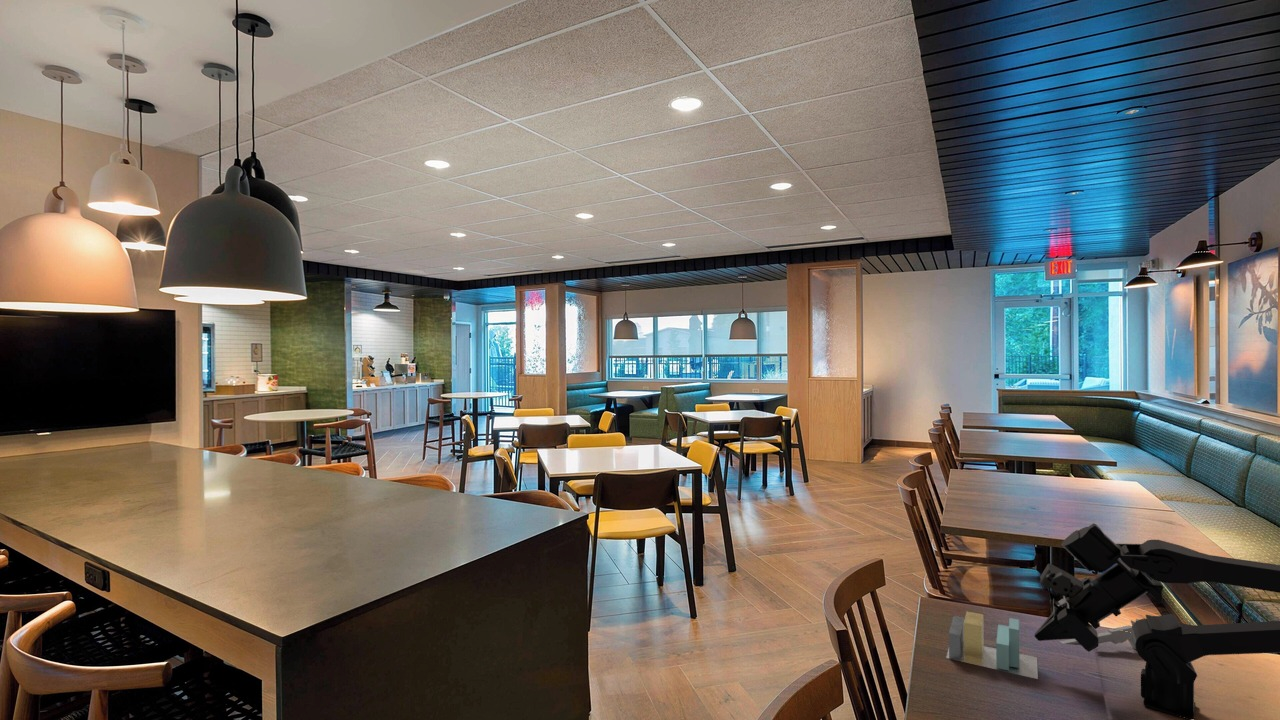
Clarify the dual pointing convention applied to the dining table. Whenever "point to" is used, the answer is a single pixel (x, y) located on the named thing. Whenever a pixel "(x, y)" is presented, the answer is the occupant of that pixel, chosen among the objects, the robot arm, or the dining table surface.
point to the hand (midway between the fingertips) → (1036, 637)
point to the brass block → (973, 636)
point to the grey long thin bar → (1111, 636)
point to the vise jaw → (1008, 645)
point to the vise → (986, 653)
